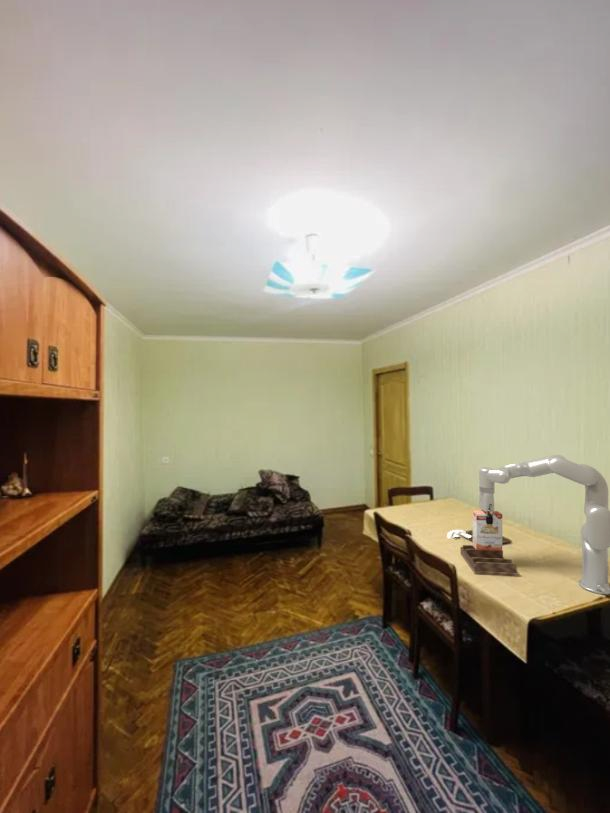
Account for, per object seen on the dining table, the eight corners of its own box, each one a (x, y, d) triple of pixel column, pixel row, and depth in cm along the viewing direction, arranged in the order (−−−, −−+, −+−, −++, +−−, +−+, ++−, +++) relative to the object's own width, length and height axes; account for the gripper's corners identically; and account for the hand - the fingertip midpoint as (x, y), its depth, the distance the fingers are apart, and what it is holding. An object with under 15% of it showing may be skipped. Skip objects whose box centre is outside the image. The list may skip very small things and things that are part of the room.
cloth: (463, 529, 242) (463, 526, 242) (483, 542, 220) (483, 538, 220) (436, 532, 239) (436, 528, 239) (454, 544, 217) (454, 541, 217)
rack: (499, 555, 199) (499, 545, 199) (519, 576, 175) (519, 565, 175) (460, 554, 202) (460, 544, 202) (474, 574, 178) (474, 563, 178)
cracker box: (476, 550, 186) (476, 513, 186) (472, 546, 192) (471, 510, 192) (503, 551, 185) (502, 513, 185) (497, 546, 191) (497, 510, 191)
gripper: (474, 486, 197) (474, 516, 197) (485, 493, 180) (486, 527, 180) (487, 486, 196) (488, 516, 196) (500, 494, 179) (501, 527, 179)
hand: (487, 521), depth 188 cm, fingers closed on cracker box, 6 cm apart
